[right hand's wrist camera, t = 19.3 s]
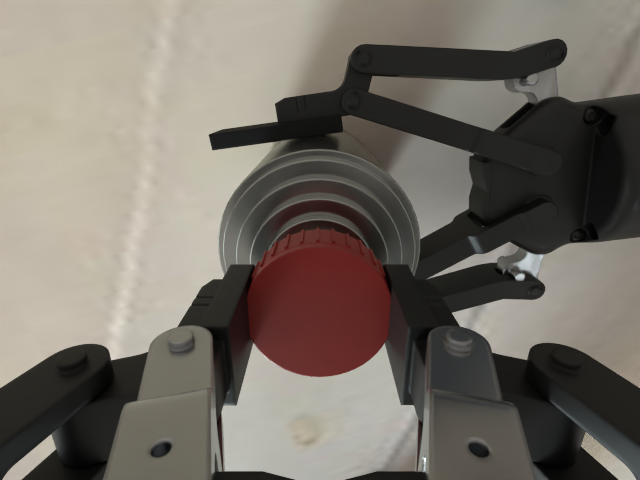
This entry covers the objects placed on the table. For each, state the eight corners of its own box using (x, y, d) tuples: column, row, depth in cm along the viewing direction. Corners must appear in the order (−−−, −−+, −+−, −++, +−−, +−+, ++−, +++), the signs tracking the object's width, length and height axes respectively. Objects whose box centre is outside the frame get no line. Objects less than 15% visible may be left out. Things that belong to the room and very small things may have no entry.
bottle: (240, 183, 27) (125, 306, 11) (319, 99, 25) (319, 100, 9) (319, 256, 29) (319, 450, 13) (398, 183, 27) (512, 306, 11)
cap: (410, 311, 12) (422, 339, 11) (297, 367, 13) (294, 399, 12) (344, 200, 11) (348, 215, 10) (224, 270, 12) (210, 293, 10)
